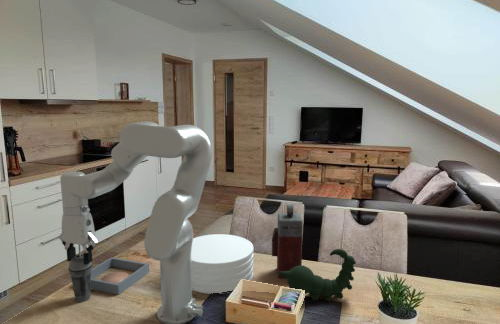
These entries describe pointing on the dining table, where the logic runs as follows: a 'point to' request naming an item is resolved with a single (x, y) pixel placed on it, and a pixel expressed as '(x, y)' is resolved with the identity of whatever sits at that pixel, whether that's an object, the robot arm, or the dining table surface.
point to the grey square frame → (117, 275)
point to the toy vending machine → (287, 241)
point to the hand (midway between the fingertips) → (79, 260)
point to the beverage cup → (80, 277)
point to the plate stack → (220, 262)
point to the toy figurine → (317, 285)
